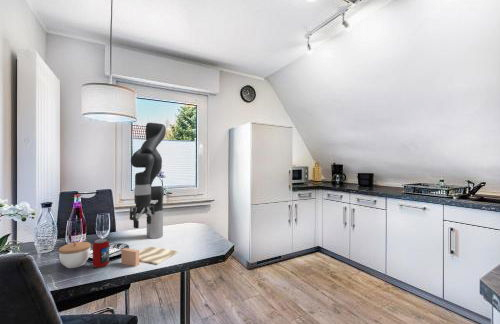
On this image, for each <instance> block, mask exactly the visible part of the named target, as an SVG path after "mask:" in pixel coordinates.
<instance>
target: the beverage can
mask: <svg viewBox="0 0 500 324" xmlns="http://www.w3.org/2000/svg"><path fill="white" fill-rule="evenodd" d="M109 263H110V242H109V240H108V239H107V238H98V239H95V240H94V242H93V244H92V266H93V267H95V268H104V267H105V266H107V265H108V264H109Z"/></svg>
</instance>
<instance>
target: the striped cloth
mask: <svg viewBox="0 0 500 324" xmlns="http://www.w3.org/2000/svg"><path fill="white" fill-rule="evenodd" d="M176 253H177V254H178V253H179V251H178V250H173V249H168V248H167V249H166V248H160V247H154V246H147V247H145V248H143V249H141V250H139V262H141V263H148V264H152V265H157V266H158V265H160V264H161V263H163V262H164V261H166V260H168V259H170V258H172V257H173V256H175V255H176Z"/></svg>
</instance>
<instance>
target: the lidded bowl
mask: <svg viewBox="0 0 500 324" xmlns="http://www.w3.org/2000/svg"><path fill="white" fill-rule="evenodd" d="M91 247H92V243H91V242H89V241H88V242H87V241H74V242H72V243H68V244H65V245H62V246H61V247H59V248H58V257H59V261H60V263H61V264H62V266H64V267H66V269H75V268H78V267H81V266H83V265H85V263H86V262H87V260H88V259H89V258H90V255H91Z"/></svg>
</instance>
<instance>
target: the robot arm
mask: <svg viewBox="0 0 500 324" xmlns="http://www.w3.org/2000/svg"><path fill="white" fill-rule="evenodd" d="M166 133H167V128H166V125H165V124H163V123H157V122H147V123H146V125H145V141H144V142H143V143H142V145H141V147H140V148H139V149H137V150H136V151H135V152H134V153H133V154H132V155H131V158H130V164H131V166H132V167H134V168H139V169H140V168H144V171H141V172H136V173H135V175H134V190H133V191H134V195H133V196H134V200H133V201H134V204H135V206H134V207H132V206H131V207H130V208H129V220H130V221H132V222H133V228H134V229H139V228H140V226H139V225H140V221H139V220H140V218H141V217H142V215H146V237H147V238H149V239H158V238H162V237H163V235H164V225H163V224H164V206H163V205H164V188H163V186H162V185H153V186H152V184H153V182H154V180H155V179H156V177H157V176H158V175H159V173H160V172H161V171H162V169H163V168H162V167H163V159H162V156H161V154H160V152H159V151H158V149H157V147H158V146H159V144H161V142H162V141H163V140H164V139H165V136H166ZM152 201H156V202H152Z"/></svg>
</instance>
